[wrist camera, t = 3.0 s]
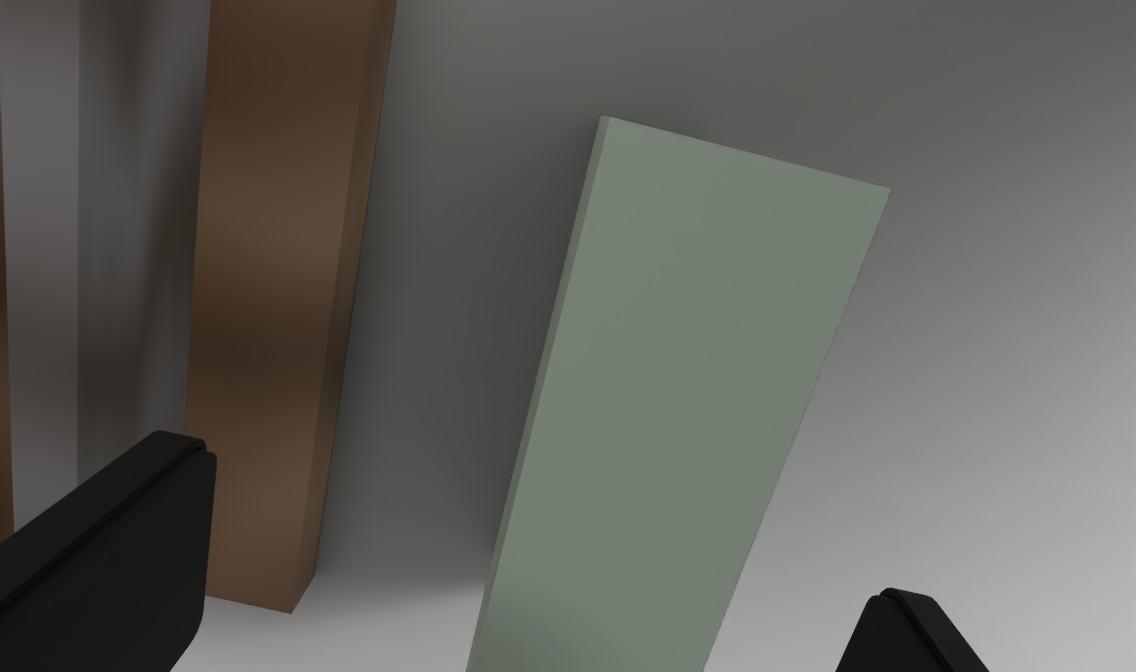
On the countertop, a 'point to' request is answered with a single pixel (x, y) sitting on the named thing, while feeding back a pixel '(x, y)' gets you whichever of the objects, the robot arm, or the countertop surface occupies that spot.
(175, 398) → the track board
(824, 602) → the countertop surface
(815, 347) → the door panel
